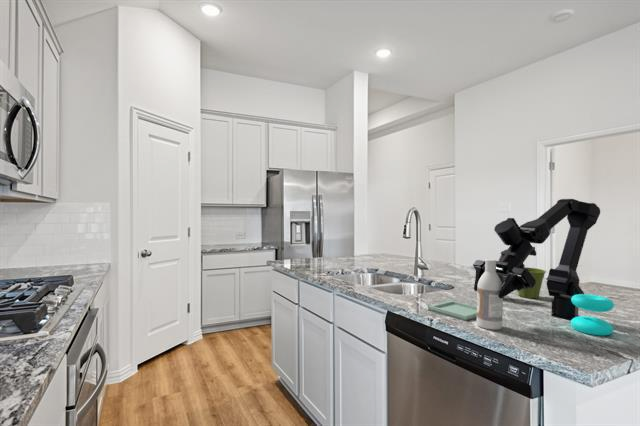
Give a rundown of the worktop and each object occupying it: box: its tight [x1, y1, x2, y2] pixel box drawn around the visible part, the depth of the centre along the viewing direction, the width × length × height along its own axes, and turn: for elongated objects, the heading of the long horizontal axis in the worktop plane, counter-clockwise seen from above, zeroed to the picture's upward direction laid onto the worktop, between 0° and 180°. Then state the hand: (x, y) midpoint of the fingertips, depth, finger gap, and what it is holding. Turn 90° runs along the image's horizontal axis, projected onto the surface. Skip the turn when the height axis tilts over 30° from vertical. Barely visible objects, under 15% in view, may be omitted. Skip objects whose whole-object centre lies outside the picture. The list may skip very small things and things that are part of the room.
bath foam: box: [476, 258, 504, 331], centre depth 107 cm, size 7×7×20 cm
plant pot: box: [517, 266, 547, 299], centre depth 147 cm, size 12×12×11 cm
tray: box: [427, 300, 477, 322], centre depth 122 cm, size 14×14×2 cm
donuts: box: [570, 293, 615, 337], centre depth 105 cm, size 10×10×10 cm
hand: (486, 293), depth 107 cm, fingers open, 9 cm apart
